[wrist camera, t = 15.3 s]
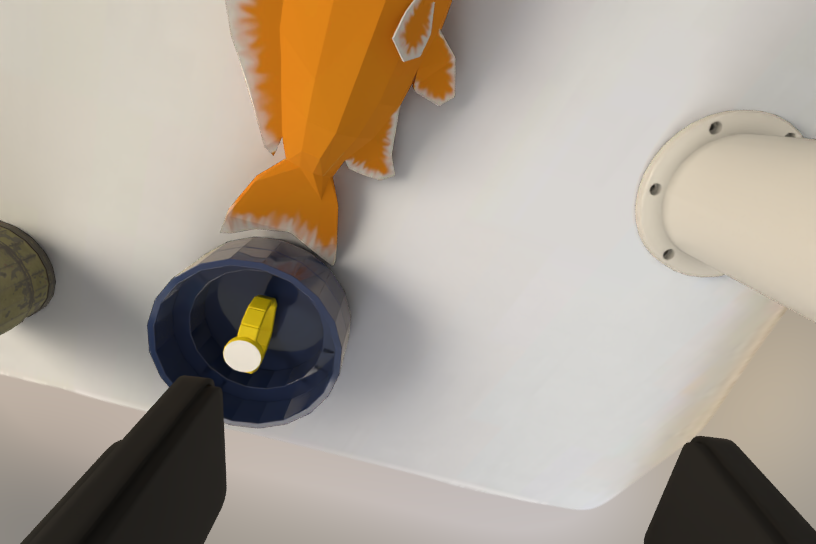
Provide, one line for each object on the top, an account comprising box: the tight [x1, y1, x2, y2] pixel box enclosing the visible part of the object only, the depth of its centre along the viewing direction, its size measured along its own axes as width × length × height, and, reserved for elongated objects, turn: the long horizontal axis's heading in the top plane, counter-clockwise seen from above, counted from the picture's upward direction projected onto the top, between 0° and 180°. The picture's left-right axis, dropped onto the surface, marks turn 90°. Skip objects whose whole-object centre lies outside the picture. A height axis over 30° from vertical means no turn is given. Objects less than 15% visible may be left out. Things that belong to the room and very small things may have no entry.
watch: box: [223, 295, 277, 374], centre depth 34 cm, size 6×3×6 cm, turn 165°
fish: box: [220, 0, 455, 266], centre depth 29 cm, size 7×27×15 cm
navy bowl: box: [147, 237, 351, 428], centre depth 35 cm, size 14×14×6 cm
